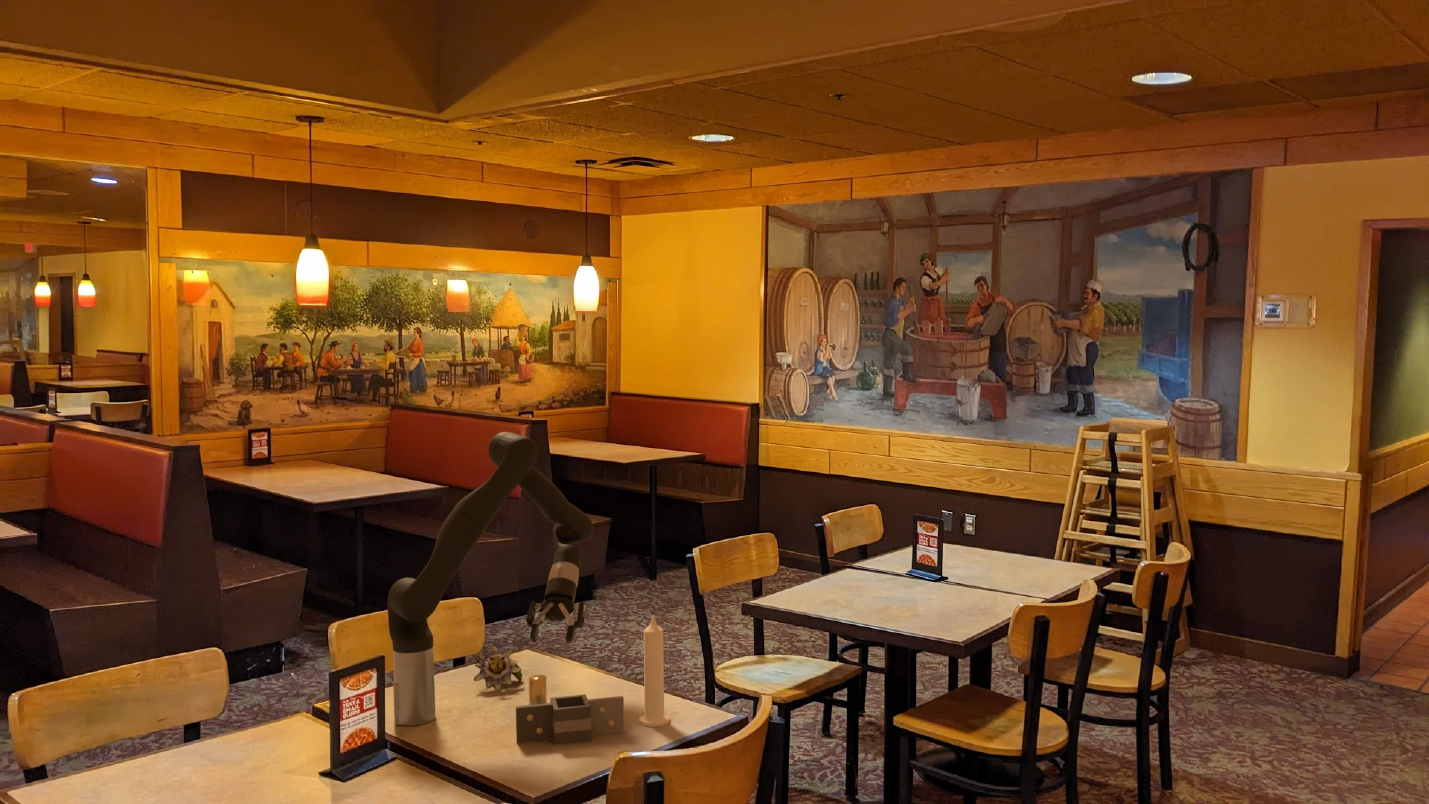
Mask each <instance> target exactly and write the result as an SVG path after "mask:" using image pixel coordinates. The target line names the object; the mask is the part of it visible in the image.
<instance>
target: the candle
mask: <svg viewBox="0 0 1429 804" xmlns="http://www.w3.org/2000/svg"><path fill="white" fill-rule="evenodd" d="M650 619H651V621H650V622H649V623H650V624H649V625H648V626H647V627H645V628H643V671H644V672H643V675H644V677H643V679H644V681H643V683H644V690H643V691H644V714H642V715H641V716H640V717H639V718H638V719H639V724H641V725H642V726H644V725H645V727H653V728H657V727H662V726H666V725H668V724H669V723H670V721H671V720H670V719H671V717H670V716H669V715H668V714H665V679H664V678H665V677H664V673H665V671H664V668H665V667H664V662H665V661H664V630H663V628H662V627H661V626H659V625H658V624H657V621H656V618H655V615H651V618H650Z"/></svg>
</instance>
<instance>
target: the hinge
mask: <svg viewBox="0 0 1429 804" xmlns="http://www.w3.org/2000/svg"><path fill="white" fill-rule="evenodd" d="M549 701H550V702H548V703H545V704H535V705H529V704H526V705H518V706H517V705H516V706H515V725H516V727H515V730H516V731H515V732H516V734H515V735H516V736H515V737H516V738H515V739H516V744H525V743H535V742H542V741H543V740H546V741H553V743H554V746H559V745H560V746H561V744H563V745H570V743H573V744H580V743H591V742H592V736H600V735H611V734H618V733H620V732H621V733H624V732H625V709H624V708H625V707H624V705H625V702H624V696H623V695H620V696H609V697H598V698H588V697H587V695H586V694H585V693H584V694H576V695H567V696H557V697H555V696H554V697H550V700H549ZM543 742H544V741H543Z"/></svg>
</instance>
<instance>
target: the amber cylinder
mask: <svg viewBox="0 0 1429 804" xmlns="http://www.w3.org/2000/svg"><path fill="white" fill-rule="evenodd" d="M528 696H529V697H528V698H529V699H528V700H529V702H528V705H535V704H545V703H547V702H548V701H547V700H548V699H547V698H548V696H547V676H546V675H545V674H533V675H530V676H529V677H528Z"/></svg>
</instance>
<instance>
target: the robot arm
mask: <svg viewBox="0 0 1429 804" xmlns="http://www.w3.org/2000/svg"><path fill="white" fill-rule="evenodd" d="M538 449H539V448H538V445H537V443H536V442H535V440H533V439H531V438H530V437H527V436H524V435H521V434H518V433H515V432H511V431H501V432H499V433H497V434H495V435H494V436H493V437H492V438H491V439H490V442H489V444H488V456H489V459H490V460H491V462H492V463H493V464H494V465H496V467H497V468H496V469H495V470H494V472H493V473H492V474H491V476H490V477H489V478H488V479H487V480H486V481H485V482H484V483H483V484H481V485H480V486H478V487H477V488H476V489H474V490H472V491H471V492H470V493H468V494H467V495H465V496H464V497H463V498H461V499H460V500H459V501H458V502H457V503H456V504H455V506H454V507H453V509H452V510H451V512H450V513H449V514H448V515H447V517H446V519H445V520H444V521H443V523H442V525H441V527H440V529H439V532H438V535H437V537H436V541H435V544H434V548H433V551H432V554H431V556H430V559H428V563H427V564H426V565H425V566H424V568H423V570H422V571H421V572H420V573H419V575H417V577H416V578H413V577H403V578H400V579H398V580H396V582H394V583H393V584H392V586H391V588H390V589H389V592H388V595H387V619H388V633H389V637H390V639H391V643H392V665H393V671H392V672H393V685H392V687H393V690H392V691H393V715H394V717H393V718H394V720H393V721H394V726H407V727H408V726H409V727H410V726H411V727H412V726H420V725H425V724H428V723H431V722H432V721H434V720H435V719H436V689H435V686H436V685H435V682H436V681H435V659H434V657H435V655H434V654H435V653H434V634H433V633H432V631H431V629H430V627H429V623H428V618H430V617H431V616H432V615H433V613H434V612H435V610H436V609H437V607H438V606H439V604H440V602H441V600H442V598H443V597H444V594H445V592H446V591H447V590H448V587H449V585H450V583H451V582H452V580H453V578H454V577H455V576H456V573H457V572H458V571H459V569H460V568H461V566H462V565H463V564H464V562H465V561H466V559H467V557H468V556H469V554H470V553H471V551H472V550H473V549H474V547H475V546H476V544H477V543H478V542H479V540H480V539H481V537H482V536H483V534H484V533H485V531H486V530H487V528H488V526H489V525H490V523H492V521H493V519H494V517H495V516H496V514H498V512H499V511H500V509H501V508H502V507H503V505H504V504H505V502H506V500H507V499H508V498H509V496H510V495H511V494H512V492H513V491H514V490H515V489H516V487H517V486H519V487H520V488H521V489H522V490H523V492H524V493H525V494H526V495H527V496H528V498H530V499H531V501H532V502H533V503H534V504H535V506H536V507H537V508H538V509H539V511H540V512H541V513H542V515H543V516H544V517H545V518H546V519H547V520H548V522H550V523H552V524H554V526H553V528H552V535H553V547H554V556H553V561H552V566H551V569H550V572H549V574H548V578H547V583H546V587H545V588H546V589H545V593H544V598H543V601H542V602H540V603H539V602H536V601H535V600H531V602H530V603H529V607H528V610H527V614H526V618H525V622H526V625H527V626H528V627H529V628H531V629H530V633H529V634H530V636H529V637H530V639H531V641H532V642H533V643H537V641H538V636H539V631H540V627H542V626H543V625H545V624H546V623H547V622H548V621H550V622H555V621H557V622H563V621H566V623H567V625H568V626H567V630H566V636H565V642H566V644H571V642H573V640H574V637H575V632H576V630H577V629H578V628H579V629H583V628H584V625H585V617H586V616H585V615H586V605H585V604H584V602H582V601H581V602H579V603H576V604H575V598H576V594H577V588H578V585H579V575H580V573H579V572H580V568H581V561H582V558H583V557H582V551H581V549H580V548H579V547H578V546H575V545H573V544H578V543H583V542H587V541H589V540H590V539H591V538H592V536H593V535H594V524H593V522H592V520H591V518H590V517H589V515H587V514H586V513H585V512H584V511H582V510H581V509H579V508H577V507H576V505H574V504H572V503H571V502H570V501H568V499H567V498H566V497H565V495H564V494H563V493H562V491H561V490H560V489H559V488H558V487H557V486H556V485H555V484H554V483H553V482H552V481H551V480H550V479H548V477H546V476H545V475H544V474H543V473H541V472H540V471H539V470H538V469H537V467H535V466H534V465H535V464H536V461H537V458H538V452H539V450H538ZM540 609H541V611H540ZM539 611H540V613H539ZM574 611H576V613H577V619H576V620H575V621H574V620H573V618H572V617H571V614H572V613H573V612H574ZM537 613H538V614H537ZM536 614H537V615H538V616H537V617H536Z"/></svg>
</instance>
